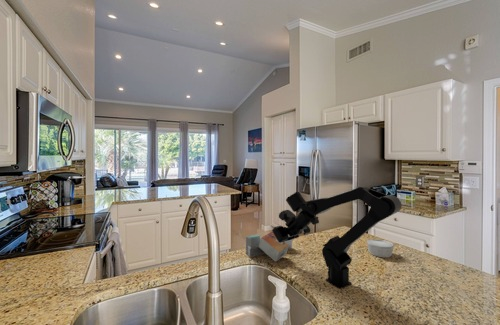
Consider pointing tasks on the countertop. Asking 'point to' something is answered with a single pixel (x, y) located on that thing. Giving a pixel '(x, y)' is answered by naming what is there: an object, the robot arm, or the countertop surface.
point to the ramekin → (380, 247)
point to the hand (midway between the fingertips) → (281, 240)
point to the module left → (252, 241)
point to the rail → (258, 251)
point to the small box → (273, 246)
